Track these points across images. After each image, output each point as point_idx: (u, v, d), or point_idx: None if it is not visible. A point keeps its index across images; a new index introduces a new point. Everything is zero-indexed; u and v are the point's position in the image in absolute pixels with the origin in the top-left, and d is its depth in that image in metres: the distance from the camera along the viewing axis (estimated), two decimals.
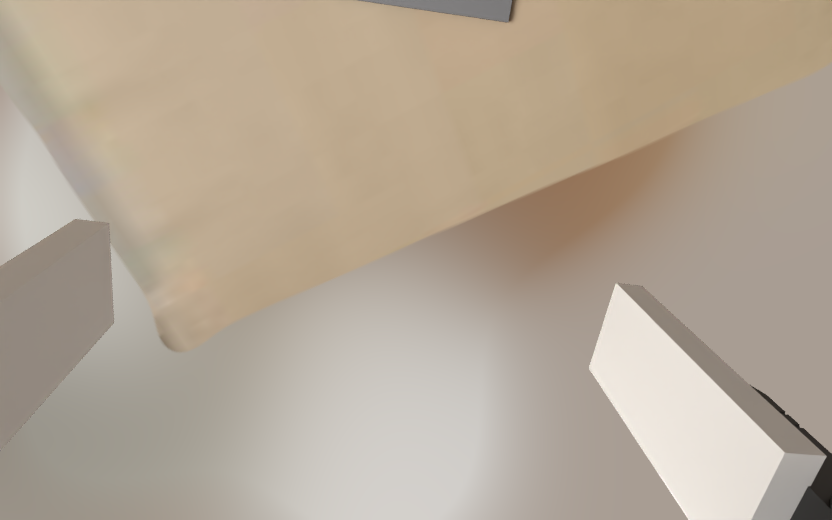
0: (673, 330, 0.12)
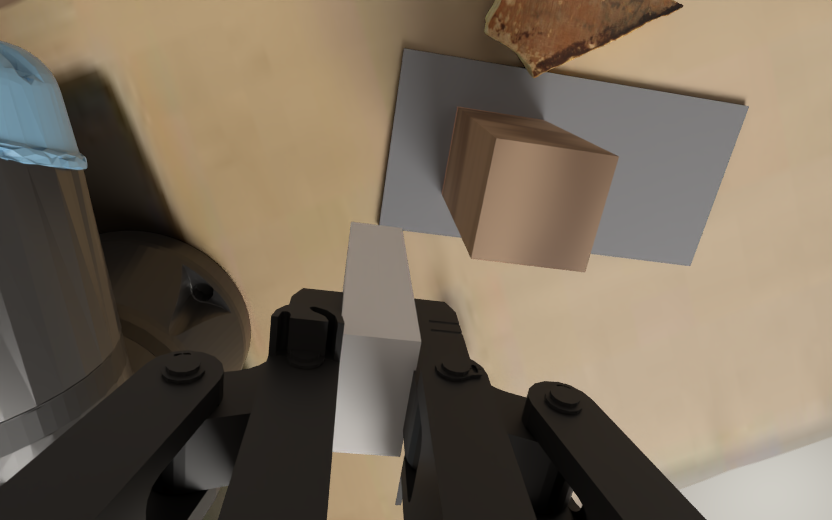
0: (389, 258, 0.14)
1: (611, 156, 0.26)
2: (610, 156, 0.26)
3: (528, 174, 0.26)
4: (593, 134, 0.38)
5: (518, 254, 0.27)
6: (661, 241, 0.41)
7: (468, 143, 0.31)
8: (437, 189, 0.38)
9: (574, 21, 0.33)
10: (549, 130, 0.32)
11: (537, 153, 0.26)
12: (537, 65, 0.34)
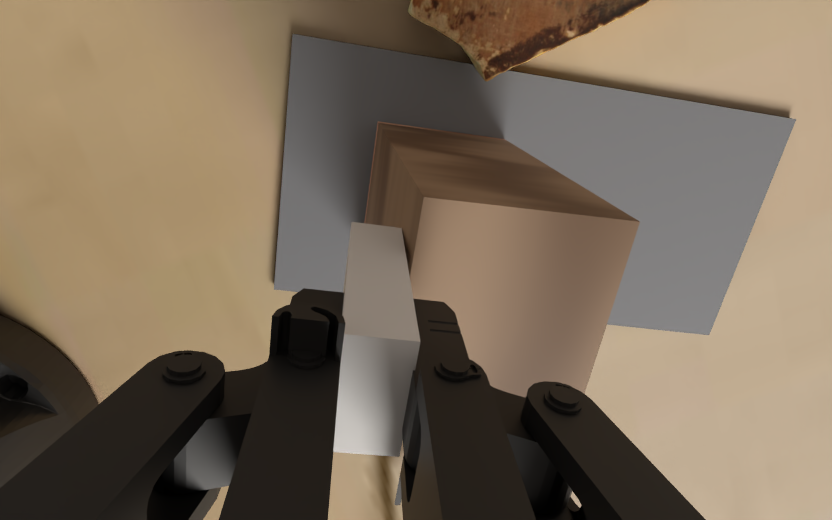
0: (388, 258, 0.14)
1: (627, 222, 0.15)
2: (625, 222, 0.15)
3: (484, 258, 0.15)
4: (575, 159, 0.26)
5: None
6: (671, 302, 0.30)
7: (388, 185, 0.20)
8: None
9: None
10: (514, 162, 0.20)
11: (499, 221, 0.14)
12: (490, 62, 0.23)
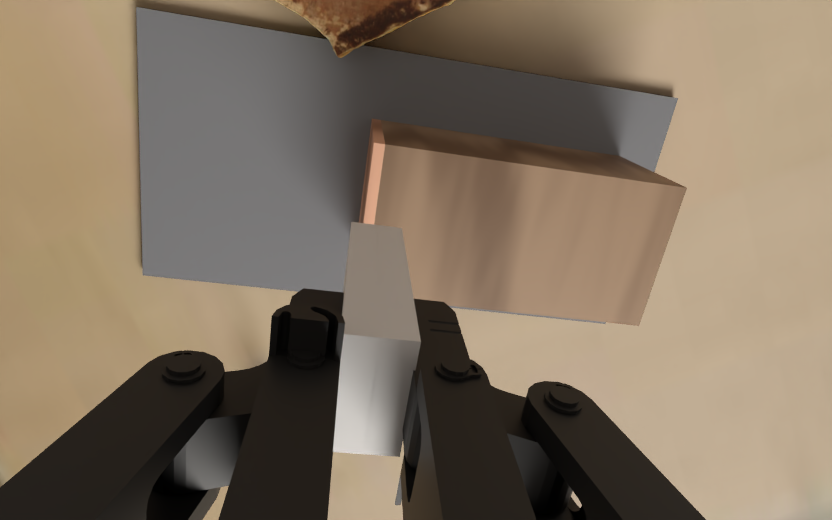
0: (389, 258, 0.14)
1: (622, 158, 0.26)
2: (622, 158, 0.26)
3: None
4: None
5: None
6: None
7: (526, 201, 0.21)
8: (222, 220, 0.26)
9: None
10: (498, 142, 0.24)
11: None
12: (339, 37, 0.22)
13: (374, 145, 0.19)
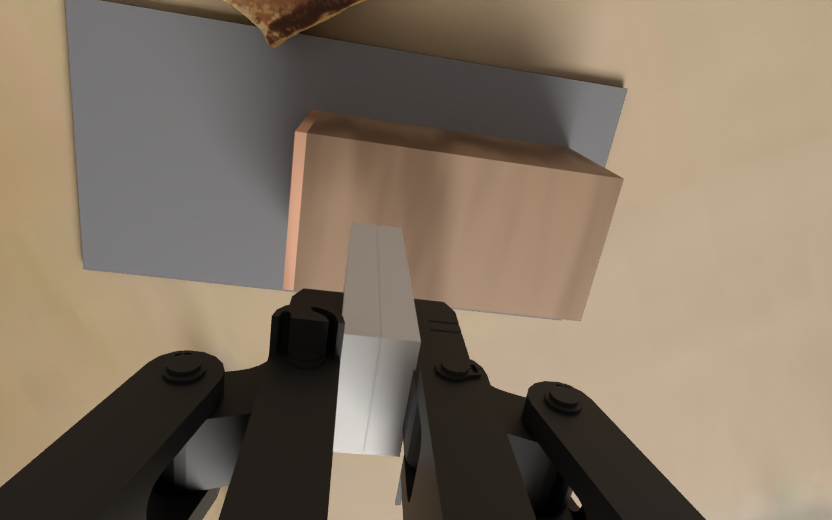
0: (388, 258, 0.14)
1: (571, 150, 0.26)
2: (571, 150, 0.26)
3: None
4: None
5: None
6: None
7: (456, 192, 0.20)
8: (162, 213, 0.26)
9: None
10: (439, 133, 0.24)
11: None
12: (271, 26, 0.22)
13: (295, 134, 0.19)
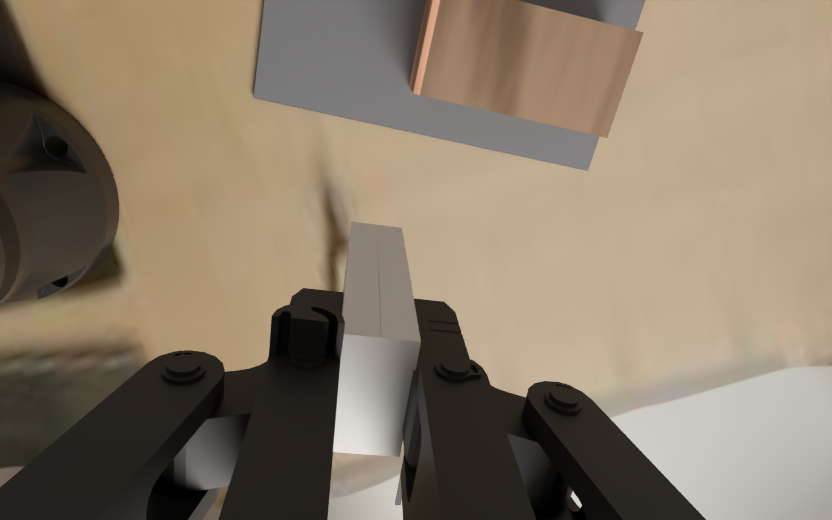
0: (388, 258, 0.14)
1: None
2: None
3: None
4: None
5: None
6: (557, 139, 0.39)
7: (534, 32, 0.31)
8: (315, 59, 0.36)
9: None
10: None
11: None
12: None
13: None
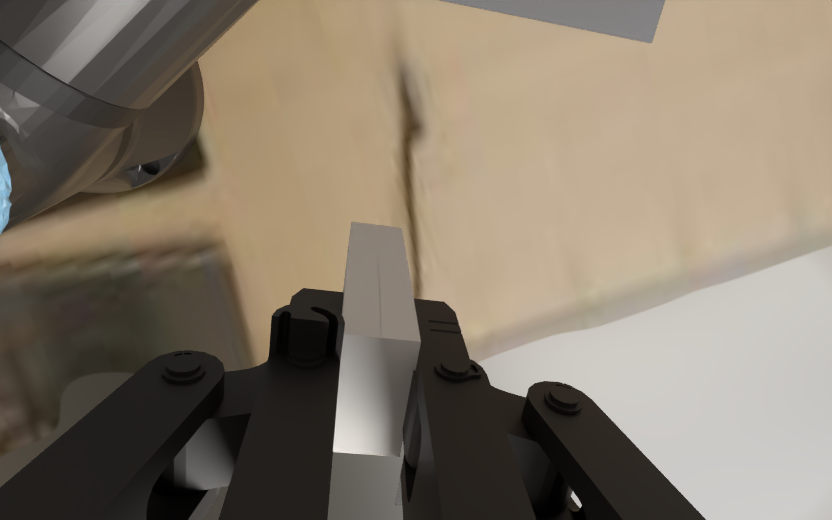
0: (388, 258, 0.14)
1: None
2: None
3: None
4: None
5: None
6: (622, 11, 0.41)
7: None
8: None
9: None
10: None
11: None
12: None
13: None
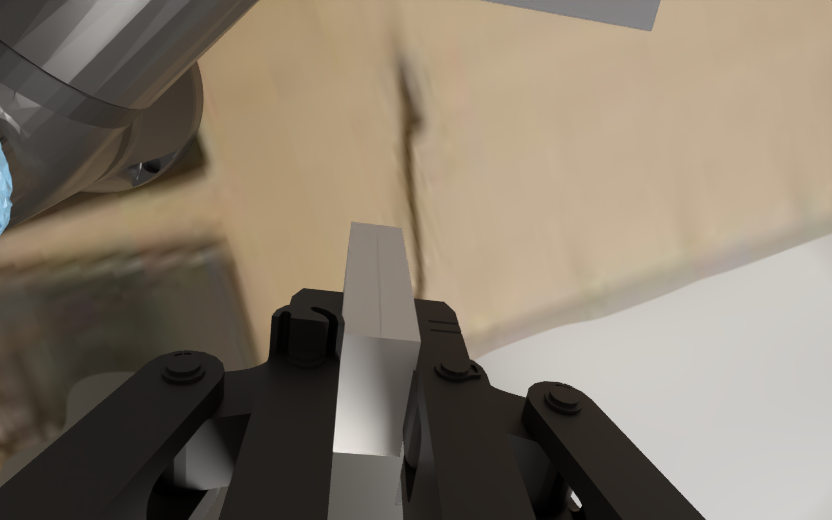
0: (388, 258, 0.14)
1: None
2: None
3: None
4: None
5: None
6: None
7: None
8: None
9: None
10: None
11: None
12: None
13: None
